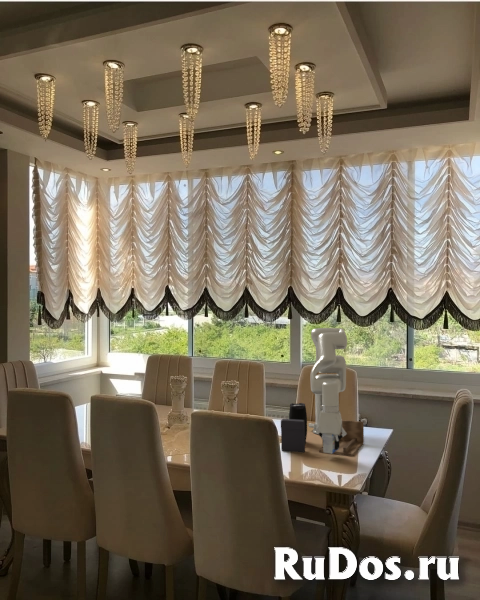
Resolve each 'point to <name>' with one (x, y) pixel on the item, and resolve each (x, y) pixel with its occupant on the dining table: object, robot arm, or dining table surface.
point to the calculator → (293, 435)
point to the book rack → (350, 438)
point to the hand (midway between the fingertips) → (331, 447)
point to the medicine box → (329, 443)
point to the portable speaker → (299, 414)
